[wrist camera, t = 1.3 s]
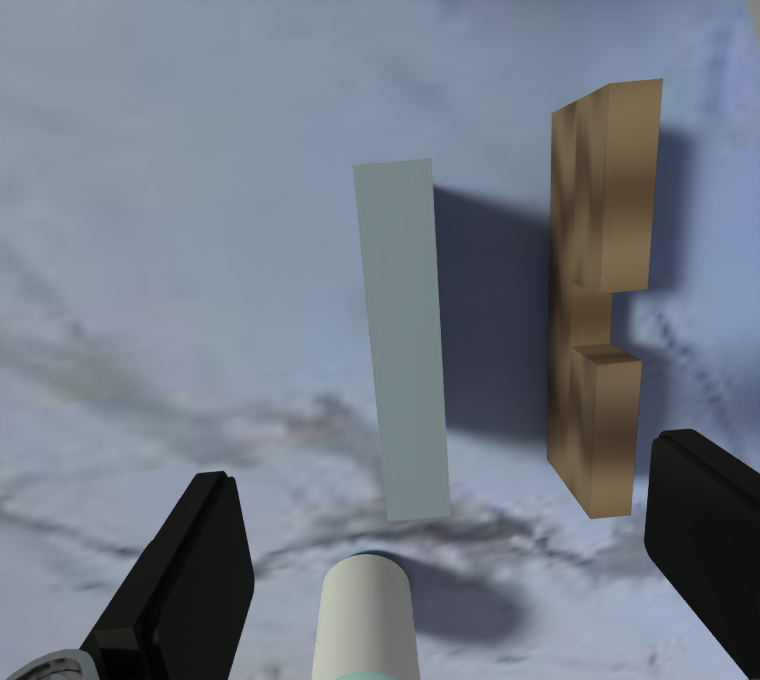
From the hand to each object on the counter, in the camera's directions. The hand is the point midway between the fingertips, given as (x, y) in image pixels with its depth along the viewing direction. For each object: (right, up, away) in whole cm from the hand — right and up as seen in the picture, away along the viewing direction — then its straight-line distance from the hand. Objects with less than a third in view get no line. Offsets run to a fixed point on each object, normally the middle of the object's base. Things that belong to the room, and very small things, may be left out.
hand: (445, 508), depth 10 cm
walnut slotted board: (+11, +6, +21) cm, 25 cm away
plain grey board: (-1, +6, +21) cm, 22 cm away
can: (-3, -16, +28) cm, 32 cm away
